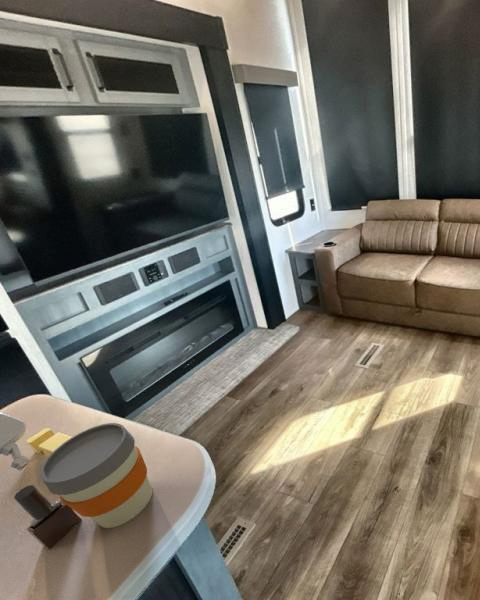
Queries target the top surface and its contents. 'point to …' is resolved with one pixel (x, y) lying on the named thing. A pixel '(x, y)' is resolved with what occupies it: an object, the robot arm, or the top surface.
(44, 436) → the butter slice
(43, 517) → the knife
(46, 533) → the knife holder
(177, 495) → the top surface
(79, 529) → the top surface
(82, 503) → the reusable coffee cup
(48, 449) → the butter stick
